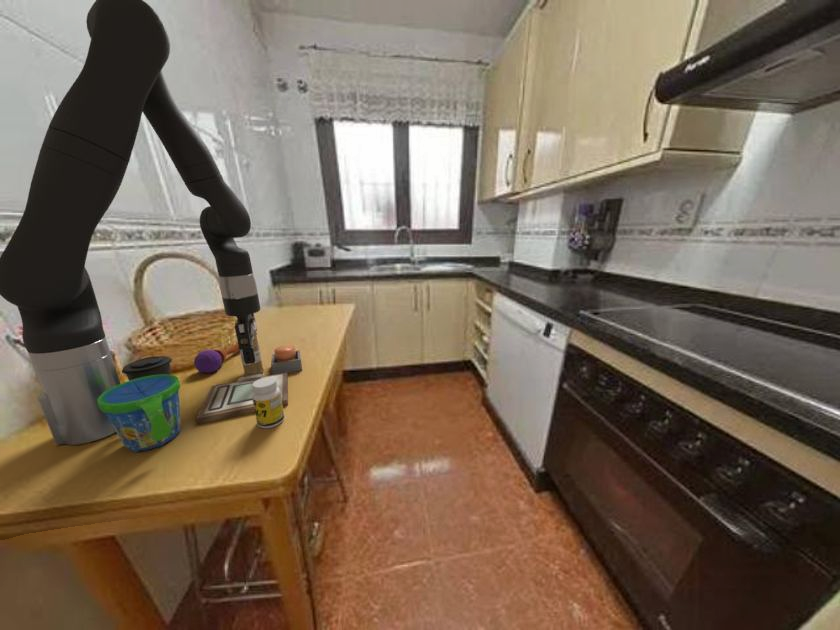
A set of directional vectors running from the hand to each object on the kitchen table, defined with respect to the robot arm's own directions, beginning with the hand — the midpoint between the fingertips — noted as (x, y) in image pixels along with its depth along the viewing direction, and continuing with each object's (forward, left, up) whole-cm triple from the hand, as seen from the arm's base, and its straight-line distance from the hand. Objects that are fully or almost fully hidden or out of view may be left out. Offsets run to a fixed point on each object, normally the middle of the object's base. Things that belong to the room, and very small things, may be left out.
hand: (252, 356), depth 79 cm
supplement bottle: (+5, -25, -5) cm, 26 cm away
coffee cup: (-18, -7, -5) cm, 20 cm away
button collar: (+8, 0, -5) cm, 9 cm away
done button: (+8, 0, -3) cm, 8 cm away
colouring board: (0, -13, -5) cm, 14 cm away
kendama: (-8, +13, -5) cm, 16 cm away
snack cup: (-14, -22, -5) cm, 27 cm away
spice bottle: (0, 0, -5) cm, 5 cm away
